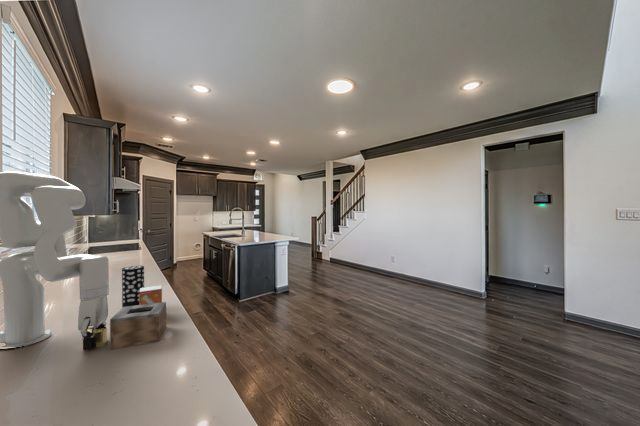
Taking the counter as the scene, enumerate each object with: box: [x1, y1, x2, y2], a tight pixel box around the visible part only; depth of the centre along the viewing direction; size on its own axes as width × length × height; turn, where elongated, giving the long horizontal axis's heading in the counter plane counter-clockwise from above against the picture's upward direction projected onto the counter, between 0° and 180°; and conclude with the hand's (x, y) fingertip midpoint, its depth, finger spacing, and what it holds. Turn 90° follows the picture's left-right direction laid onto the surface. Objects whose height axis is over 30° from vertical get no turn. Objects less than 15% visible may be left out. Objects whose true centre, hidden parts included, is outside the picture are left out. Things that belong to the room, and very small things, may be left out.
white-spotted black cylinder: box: [121, 265, 145, 309], centre depth 117 cm, size 8×8×20 cm
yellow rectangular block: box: [88, 327, 108, 348], centre depth 87 cm, size 6×3×5 cm, turn 111°
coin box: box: [109, 301, 167, 350], centre depth 92 cm, size 14×12×10 cm
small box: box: [139, 285, 163, 305], centre depth 109 cm, size 8×6×13 cm
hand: (95, 343), depth 87 cm, fingers open, 6 cm apart
